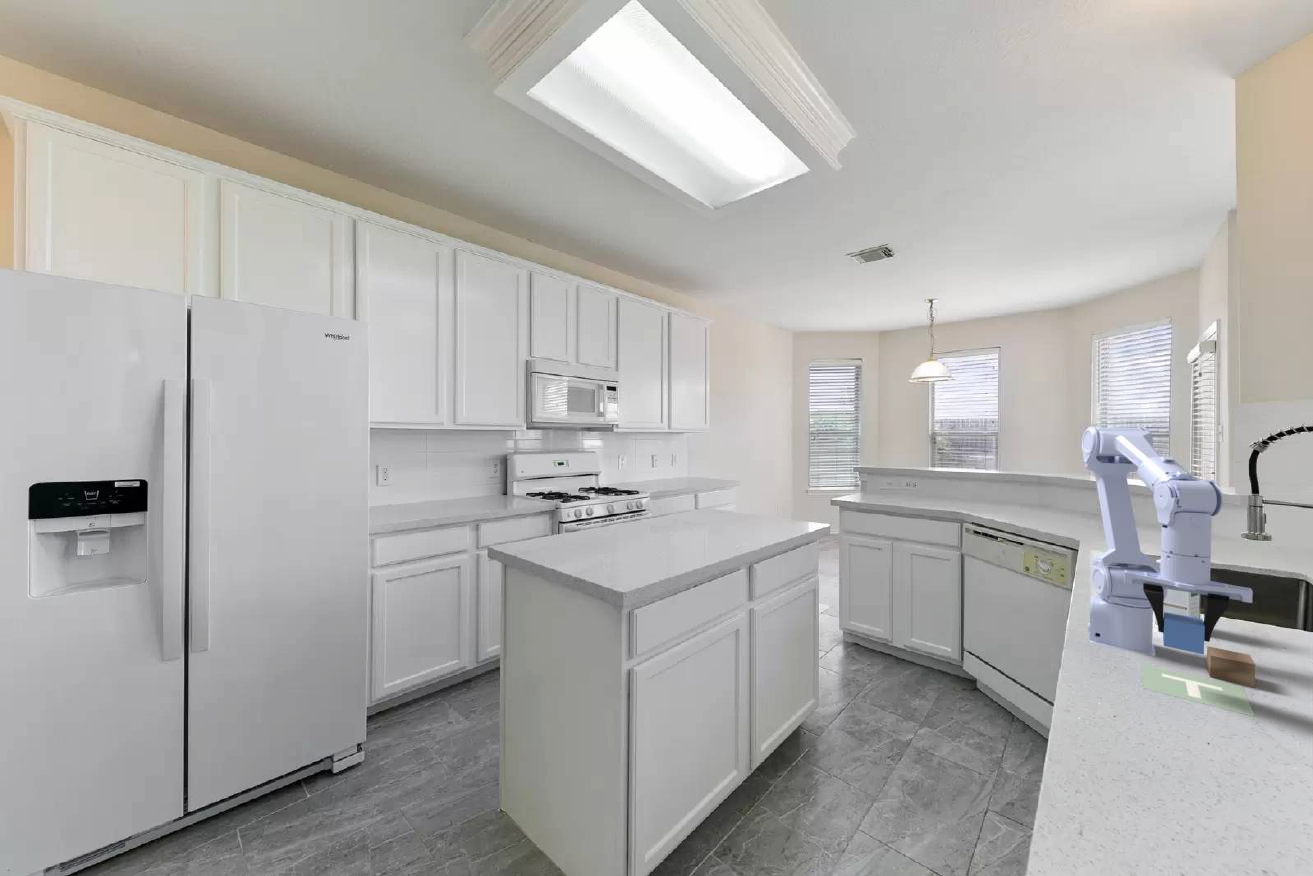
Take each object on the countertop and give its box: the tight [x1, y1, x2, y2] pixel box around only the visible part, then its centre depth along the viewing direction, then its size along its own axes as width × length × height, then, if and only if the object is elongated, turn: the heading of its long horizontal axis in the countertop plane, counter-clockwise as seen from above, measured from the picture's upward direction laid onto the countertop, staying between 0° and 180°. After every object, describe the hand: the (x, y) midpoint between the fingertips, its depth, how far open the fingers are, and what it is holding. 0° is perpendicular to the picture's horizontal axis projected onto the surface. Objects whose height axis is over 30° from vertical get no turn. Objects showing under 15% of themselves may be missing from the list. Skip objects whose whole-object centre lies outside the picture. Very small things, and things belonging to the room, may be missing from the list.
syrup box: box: [1154, 558, 1202, 625], centre depth 111 cm, size 6×6×14 cm
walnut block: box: [1206, 646, 1256, 688], centre depth 87 cm, size 5×5×4 cm
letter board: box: [1141, 663, 1256, 718], centre depth 84 cm, size 12×12×1 cm
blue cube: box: [1162, 612, 1205, 655], centre depth 84 cm, size 4×4×4 cm
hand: (1183, 635), depth 84 cm, fingers closed on blue cube, 4 cm apart
